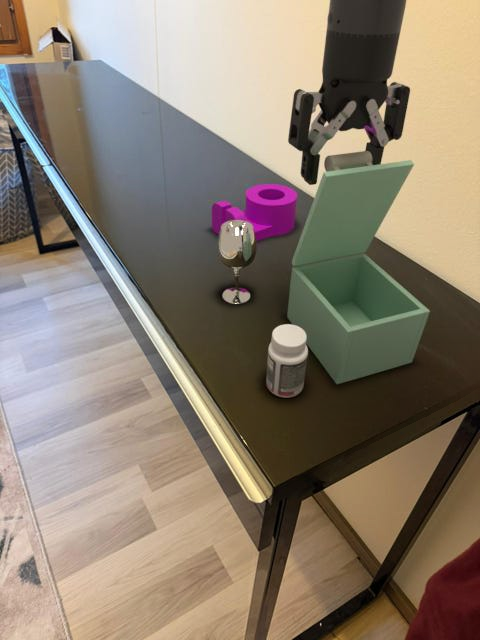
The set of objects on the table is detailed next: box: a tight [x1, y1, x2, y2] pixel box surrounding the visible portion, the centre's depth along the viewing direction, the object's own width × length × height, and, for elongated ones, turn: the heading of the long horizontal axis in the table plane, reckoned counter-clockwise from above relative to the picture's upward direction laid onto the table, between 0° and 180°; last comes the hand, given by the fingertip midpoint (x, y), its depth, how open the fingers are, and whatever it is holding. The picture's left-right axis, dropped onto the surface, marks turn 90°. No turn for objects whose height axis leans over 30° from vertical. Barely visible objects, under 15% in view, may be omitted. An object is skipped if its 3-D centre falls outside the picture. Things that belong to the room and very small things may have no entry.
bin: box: [286, 252, 431, 385], centre depth 62 cm, size 15×12×9 cm
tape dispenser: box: [211, 183, 298, 242], centre depth 88 cm, size 16×10×6 cm, turn 125°
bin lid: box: [291, 150, 415, 267], centre depth 59 cm, size 16×12×5 cm
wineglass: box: [216, 220, 258, 305], centre depth 68 cm, size 6×6×12 cm
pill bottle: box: [265, 323, 309, 399], centre depth 55 cm, size 5×5×8 cm
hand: (339, 178), depth 57 cm, fingers open, 8 cm apart
